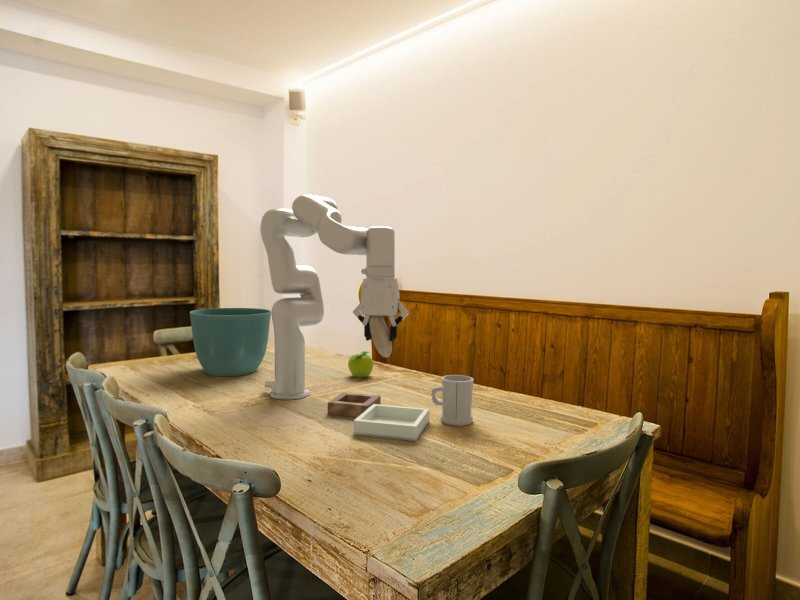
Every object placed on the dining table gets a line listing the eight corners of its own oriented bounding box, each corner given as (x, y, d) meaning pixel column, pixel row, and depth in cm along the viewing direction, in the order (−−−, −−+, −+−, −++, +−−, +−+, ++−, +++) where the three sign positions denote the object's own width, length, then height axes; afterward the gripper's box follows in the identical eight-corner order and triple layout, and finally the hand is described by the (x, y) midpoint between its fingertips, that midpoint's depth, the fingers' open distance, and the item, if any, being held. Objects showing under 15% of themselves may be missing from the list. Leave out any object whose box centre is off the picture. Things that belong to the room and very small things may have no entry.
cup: (446, 428, 131) (447, 383, 130) (428, 419, 139) (429, 376, 138) (479, 423, 136) (480, 380, 135) (460, 414, 144) (461, 373, 143)
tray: (353, 434, 125) (353, 420, 125) (373, 416, 141) (373, 404, 140) (415, 441, 121) (416, 426, 121) (429, 421, 137) (429, 409, 136)
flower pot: (258, 381, 181) (258, 315, 180) (176, 379, 182) (175, 313, 180) (279, 365, 211) (279, 308, 210) (208, 364, 212) (208, 307, 210)
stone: (389, 359, 132) (390, 313, 131) (366, 358, 133) (366, 313, 132) (394, 356, 137) (394, 312, 137) (371, 355, 138) (372, 311, 138)
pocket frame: (327, 414, 142) (327, 402, 142) (343, 403, 154) (343, 392, 153) (367, 418, 139) (367, 405, 139) (380, 406, 151) (380, 395, 150)
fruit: (377, 377, 192) (377, 351, 191) (362, 381, 184) (363, 354, 183) (358, 374, 197) (358, 349, 196) (343, 378, 189) (343, 352, 188)
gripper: (345, 273, 132) (345, 341, 133) (408, 273, 128) (408, 343, 129) (354, 273, 140) (355, 337, 141) (415, 273, 135) (415, 339, 136)
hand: (380, 339), depth 135 cm, fingers closed on stone, 6 cm apart
